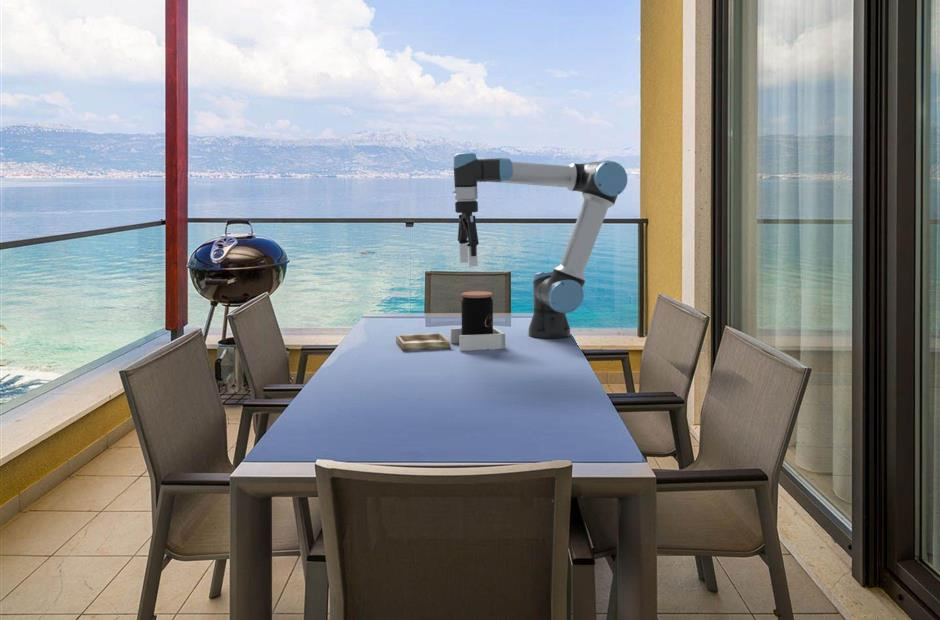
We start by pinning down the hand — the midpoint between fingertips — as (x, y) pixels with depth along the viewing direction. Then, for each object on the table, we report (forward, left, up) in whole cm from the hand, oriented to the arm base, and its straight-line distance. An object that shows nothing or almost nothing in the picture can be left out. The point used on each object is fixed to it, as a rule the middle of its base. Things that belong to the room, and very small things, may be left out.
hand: (468, 264), depth 285 cm
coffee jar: (-3, 0, -28) cm, 28 cm away
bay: (-3, 0, -28) cm, 28 cm away
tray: (+15, -5, -28) cm, 32 cm away
